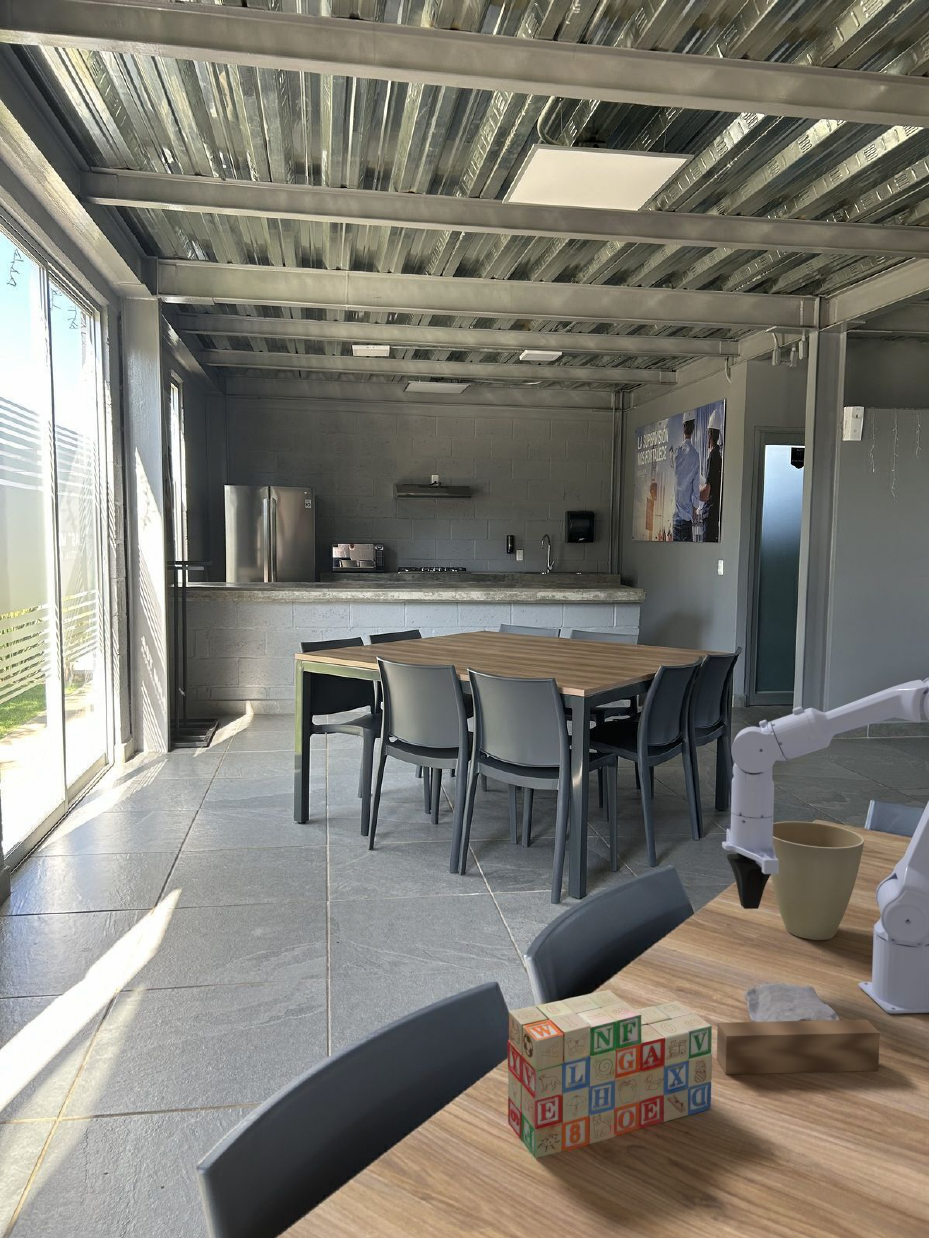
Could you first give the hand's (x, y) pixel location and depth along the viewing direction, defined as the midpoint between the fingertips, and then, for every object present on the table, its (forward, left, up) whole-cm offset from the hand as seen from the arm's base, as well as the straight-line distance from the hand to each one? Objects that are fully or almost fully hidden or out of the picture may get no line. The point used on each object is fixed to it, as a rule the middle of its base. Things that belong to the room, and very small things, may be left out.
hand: (749, 907), depth 126 cm
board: (+3, +23, -10) cm, 25 cm away
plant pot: (-16, -15, -10) cm, 24 cm away
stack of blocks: (+27, +32, -10) cm, 43 cm away
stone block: (+1, +14, -10) cm, 18 cm away
